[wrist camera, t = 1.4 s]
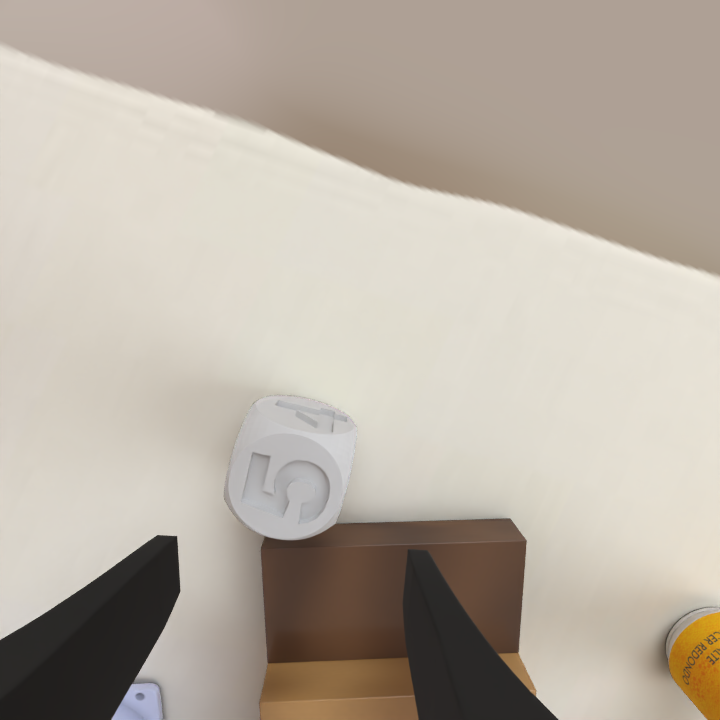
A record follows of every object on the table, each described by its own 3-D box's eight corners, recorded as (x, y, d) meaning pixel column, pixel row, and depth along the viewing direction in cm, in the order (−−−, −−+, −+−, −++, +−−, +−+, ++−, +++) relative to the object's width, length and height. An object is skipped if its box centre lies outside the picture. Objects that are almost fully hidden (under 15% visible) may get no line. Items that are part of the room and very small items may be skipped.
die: (265, 387, 20) (238, 417, 15) (356, 409, 20) (359, 446, 15) (245, 472, 20) (214, 527, 15) (333, 492, 21) (329, 552, 16)
